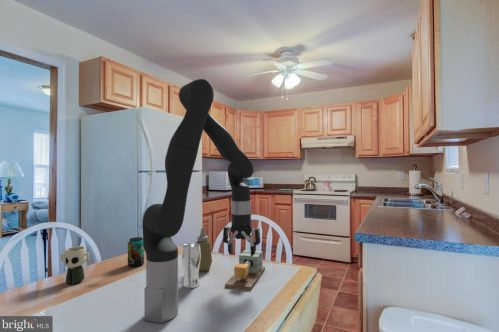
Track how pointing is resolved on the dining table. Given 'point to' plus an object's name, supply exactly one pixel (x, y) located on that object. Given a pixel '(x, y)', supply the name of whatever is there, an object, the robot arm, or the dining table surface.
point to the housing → (254, 271)
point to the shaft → (242, 269)
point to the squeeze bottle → (204, 251)
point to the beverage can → (135, 252)
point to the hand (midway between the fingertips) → (241, 254)
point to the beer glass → (191, 264)
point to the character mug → (75, 263)
